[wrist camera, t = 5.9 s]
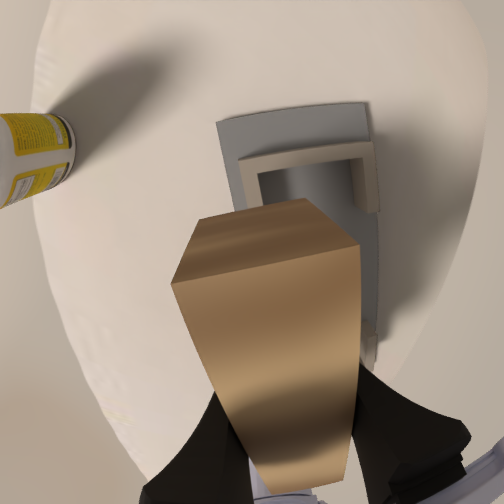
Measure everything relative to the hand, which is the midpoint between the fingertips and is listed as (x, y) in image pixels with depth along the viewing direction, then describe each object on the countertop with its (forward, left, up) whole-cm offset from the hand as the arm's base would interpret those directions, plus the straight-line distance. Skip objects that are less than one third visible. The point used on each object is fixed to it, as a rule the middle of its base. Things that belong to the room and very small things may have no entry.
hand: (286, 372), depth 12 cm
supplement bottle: (+13, +13, -9) cm, 20 cm away
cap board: (0, -3, -8) cm, 9 cm away
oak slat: (0, 0, -1) cm, 1 cm away
